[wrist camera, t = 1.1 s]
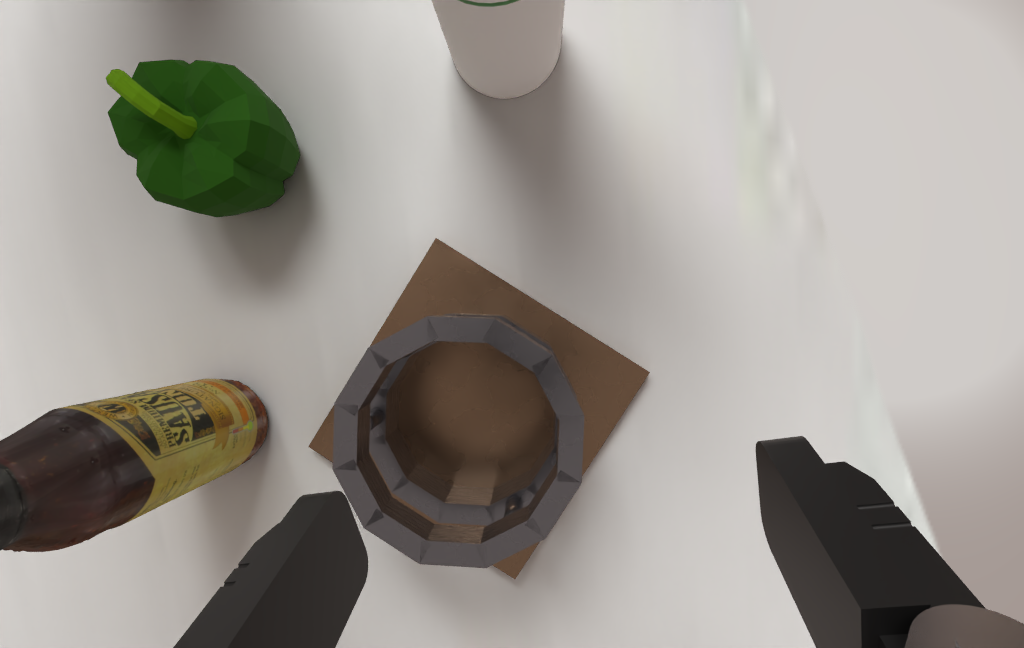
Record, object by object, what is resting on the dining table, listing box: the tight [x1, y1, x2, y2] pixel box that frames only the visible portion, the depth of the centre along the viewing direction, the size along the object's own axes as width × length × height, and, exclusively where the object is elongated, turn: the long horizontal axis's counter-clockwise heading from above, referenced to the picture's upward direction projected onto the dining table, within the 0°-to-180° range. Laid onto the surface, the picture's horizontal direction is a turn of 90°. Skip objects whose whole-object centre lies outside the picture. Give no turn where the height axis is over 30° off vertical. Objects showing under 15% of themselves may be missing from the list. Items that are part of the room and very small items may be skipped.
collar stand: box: [309, 238, 650, 579], centre depth 31 cm, size 16×16×9 cm
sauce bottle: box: [0, 379, 268, 552], centre depth 26 cm, size 7×6×20 cm
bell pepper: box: [106, 60, 300, 217], centre depth 30 cm, size 8×8×10 cm
